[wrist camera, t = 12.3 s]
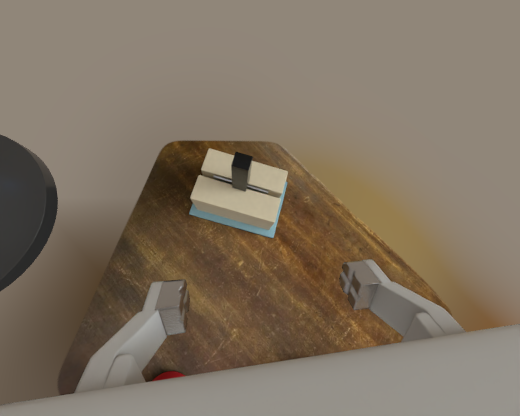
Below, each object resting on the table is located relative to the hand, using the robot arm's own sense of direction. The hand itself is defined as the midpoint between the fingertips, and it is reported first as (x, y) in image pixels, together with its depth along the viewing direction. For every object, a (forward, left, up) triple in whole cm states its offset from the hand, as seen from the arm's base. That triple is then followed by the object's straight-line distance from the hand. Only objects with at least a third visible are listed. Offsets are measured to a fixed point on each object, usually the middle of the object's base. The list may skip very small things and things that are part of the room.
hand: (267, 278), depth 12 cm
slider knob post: (-4, +11, -24) cm, 27 cm away
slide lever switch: (-4, +11, -25) cm, 28 cm away
